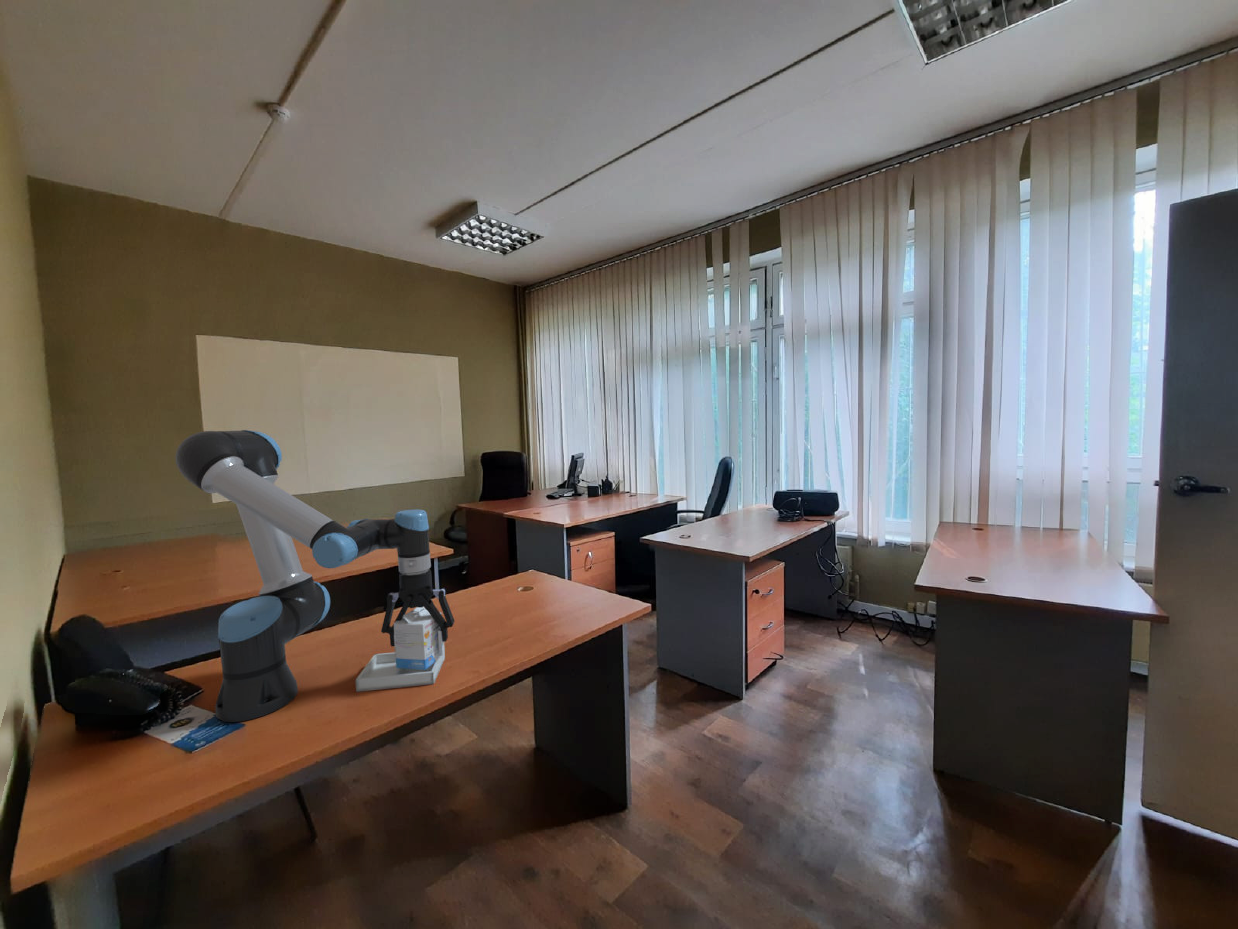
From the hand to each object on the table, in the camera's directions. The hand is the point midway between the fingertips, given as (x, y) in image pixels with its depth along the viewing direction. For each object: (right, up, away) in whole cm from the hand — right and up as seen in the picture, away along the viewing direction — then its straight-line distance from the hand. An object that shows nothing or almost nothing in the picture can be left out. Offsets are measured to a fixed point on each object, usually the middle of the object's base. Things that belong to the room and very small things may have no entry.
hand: (420, 655), depth 122 cm
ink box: (0, -2, 0) cm, 2 cm away
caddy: (-4, -5, 0) cm, 6 cm away
